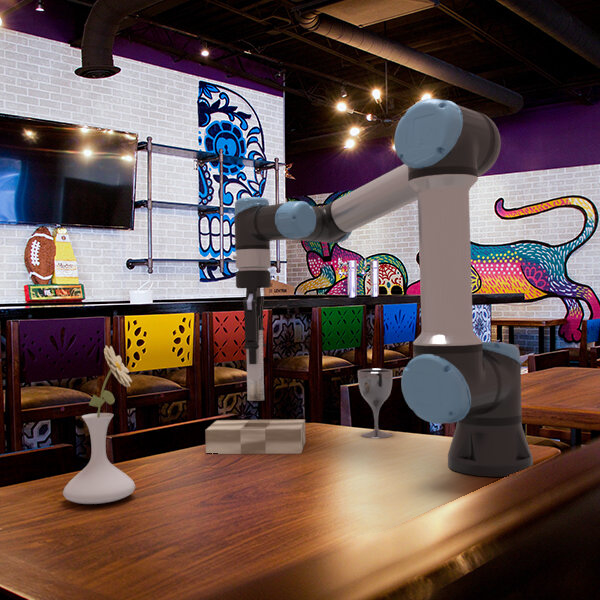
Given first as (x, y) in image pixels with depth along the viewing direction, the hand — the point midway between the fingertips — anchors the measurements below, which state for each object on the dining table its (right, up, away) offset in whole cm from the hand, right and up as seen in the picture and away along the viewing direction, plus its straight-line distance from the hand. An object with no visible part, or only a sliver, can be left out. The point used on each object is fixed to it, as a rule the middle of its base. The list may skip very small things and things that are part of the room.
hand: (255, 377), depth 154 cm
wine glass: (+27, -15, +11) cm, 33 cm away
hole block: (0, -15, 0) cm, 15 cm away
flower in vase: (-23, -16, -37) cm, 46 cm away
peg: (0, -5, 0) cm, 5 cm away
